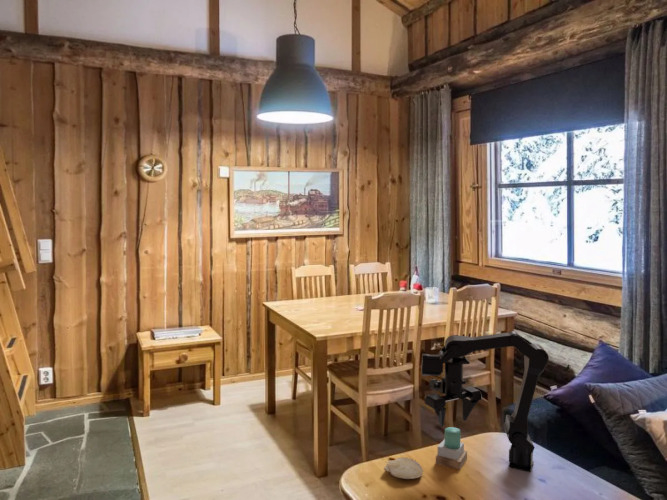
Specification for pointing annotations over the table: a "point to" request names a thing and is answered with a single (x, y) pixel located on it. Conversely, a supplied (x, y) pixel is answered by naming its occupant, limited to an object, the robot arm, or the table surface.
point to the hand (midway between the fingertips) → (453, 422)
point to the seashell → (404, 468)
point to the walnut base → (452, 461)
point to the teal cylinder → (452, 437)
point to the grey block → (450, 451)
